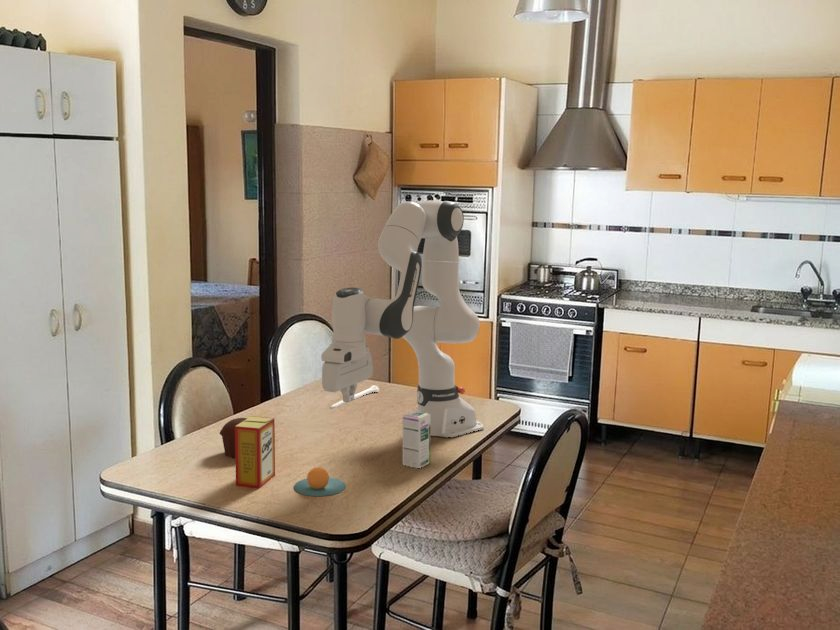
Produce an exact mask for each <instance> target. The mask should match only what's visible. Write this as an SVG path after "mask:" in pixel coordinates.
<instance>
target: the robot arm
mask: <svg viewBox="0 0 840 630" xmlns="http://www.w3.org/2000/svg"><path fill="white" fill-rule="evenodd" d="M464 221H465V218H464V211H463V210H462V208H461V207H460V205H459V204H458V203H456V202H455V201H454V202H453V201H449V200H444V201H442V200H441V201H440V200H432V199H431V200H429V199H428V200H422V201H403V202H400V203H399V204H398V205H396V207H394V209H393V210H392V213H390V215H389V217H388V219H387V220H386V223H385V224H384V226H383V229H382V232H381V233H380V236H379V239H378V242H377V250H378V253H379V255H380V257H381V258H382V260H383V261H384V262H385V263H387V264H388V265H389V266H390V267H391V268H393V269H396V270H397V271H399V272H401V273H400V274H401V275H400V278H399V279H400V280H399V282H398V287H397V292H396V296H394V297H393V298H391V299H383V298H382V299H381V298H376V297H370V296H368V295H366V294H365V293H364V290H363V289H362V288H360V287H344V288H341V289H339V290H337V291H336V292H335V293H334V297H333V300H332V306H331V307H332V308H331V309H332V310H331V324H332V330H333V332H332V336H331V343H330V344H329V346H328V347H327V348H326V349H324V350H323V352H322V353H321V357H320V358H321V361H322V362H323V364H322V367H321V385H322V388H323V390H324V392H327V393H328V392H329V393H336V392H339V391H340V393H341V395H342V400H343V402H347V403H346V404H348V403H351V402H352V401H354V400H355V399H354V395H355V394H356V391H357V387H358V383H360V382H364V381H366V380H369V379H371V378H372V376H373V373H374V371H373V357H372V354H371V352H370V348H369V346H368V345H367V343H366V341H367V337H366V334H369V335H375V336H376V335H377V336H383V337H387V338H391V339H395V340H396V339H397V340H398V339H401V338H403V339H404V340H405V341H407V343H408V344H409V345H410V346H411V348H412V350H413V351H414V353H415V357H416V359H417V364H418V384H417V388H416V389H417V391H416V392H417V393H416V397H417V398H416V399H417V407H416V409H417V410H416V411H423V412H427V413H430V414H431V436H432V437H443V438H448V437H451V438H454V437H458V435H459V436H463V435H466V433H467V434H471V433H474V432H473V431H475V432H479V431H481V430H484V429H483V428H484V424H483V423H482V422H481V421H479V420H477V414H476V411H475V408H474V407H473V406H472V405H470V404H469V403H468V402H467V401H465V400H464V399H463V398H462V397H461V396H460V395H459V394H461V395H464V394H465V393H466V389H465V387H462V386H458V385H456V384H455V376H456V375H455V374H456V373H455V371H456V370H455V368H456V367H455V366H456V365H455V362H454V360H453V358H451V356H450V355H448V354H446V353H445V352H443V351H442V350H441V349H439V347H438V345H437V343H441V344H442V343H444V344H464V343H472V342H473V341H474V340H475V339H476V338H477V337H478V334H479V332H480V327H481V323H480V319H479V317H478V315H477V313H476V312H475V311H474V310H472V309H471V308H470V307H469V306H468V304H467V303H466V301H465V300H464V298H463V297H462V294H461V292H460V287H459V286H460V285H459V261H460V260H459V259H460V258H459V256H460V254H459V253H460V252H459V251H460V250H459V242H458V235H459V234H460V233H461V231H462V229H463V227H464ZM422 239H424V245H423V252H422V256H421V254H419V252H418V248H419V245H420V243H421V240H422ZM420 280H421V284H422V287H423V289H424V290H425V291H426V292H427V293H428V294H430V295H432V296H434V297H436V298H437V299H438V301H439V306H433V305H431V306H430V305H415V304H416V298H417V295H418V294H417V293H418V289H419V284H420ZM478 430H479V431H478ZM470 432H471V433H470Z"/></svg>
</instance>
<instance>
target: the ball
mask: <svg viewBox="0 0 840 630" xmlns="http://www.w3.org/2000/svg"><path fill="white" fill-rule="evenodd" d="M329 477H330V475H329V473H328V471H327V470H326V469H325V468H323V467H320V466H316V467H313V468H312V469H310V470H309V472H308V473H307V476H306V479H307V482H308V484H309V486H310V487H312V488H313V489H322V488H324V487H325V486H326V485H327V484H328V481H329Z"/></svg>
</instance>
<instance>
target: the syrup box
mask: <svg viewBox="0 0 840 630" xmlns="http://www.w3.org/2000/svg"><path fill="white" fill-rule="evenodd" d="M431 438H432V437H431V414H430V413H427V412H423V411H417V410H412V411H411V412H408V413H406V414H403V415H402V465H403V466H405V465H406V467H408V466H412V467H416V468H415V469H417V468H420V469H422V468H423V467H425V466H427V465H430V464H431ZM429 463H430V464H429ZM412 467H411V468H412ZM421 467H422V468H421Z"/></svg>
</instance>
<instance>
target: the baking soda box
mask: <svg viewBox="0 0 840 630" xmlns="http://www.w3.org/2000/svg"><path fill="white" fill-rule="evenodd" d="M247 418H248V419H246V420H244V421H243V422H241V423H239V424H238V425H236V426H235V458H234V460H235V461H234V462H235V486H236V487H244V488H251V489H252V488H253V489H261V488H262V487H263V486H265V485H266V484H267V483H269V481H270V480H272V479H273V478H274V477H276V454H275V453H276V444H275V443H276V441H275V440H276V439H275V437H276V436H275V435H276V434H275V429H276V428H275V418H274V417H265V416H264V417H263V416H253V415H251V416H248V417H247ZM271 478H272V479H271Z"/></svg>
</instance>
